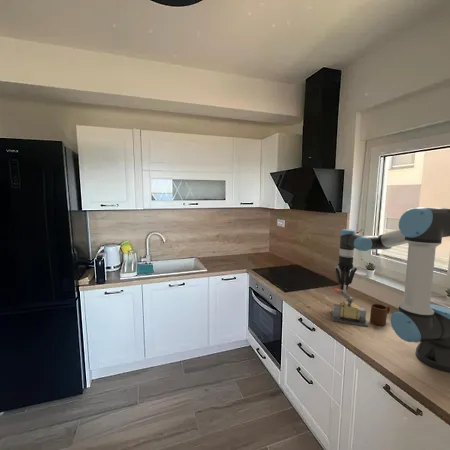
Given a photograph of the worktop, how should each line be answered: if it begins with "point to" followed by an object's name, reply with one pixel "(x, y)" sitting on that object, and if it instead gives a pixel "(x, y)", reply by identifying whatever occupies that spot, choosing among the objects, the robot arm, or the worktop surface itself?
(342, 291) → the lever
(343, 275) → the robot arm
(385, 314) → the mug
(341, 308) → the valve
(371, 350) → the worktop surface
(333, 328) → the worktop surface
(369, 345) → the worktop surface
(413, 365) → the worktop surface
